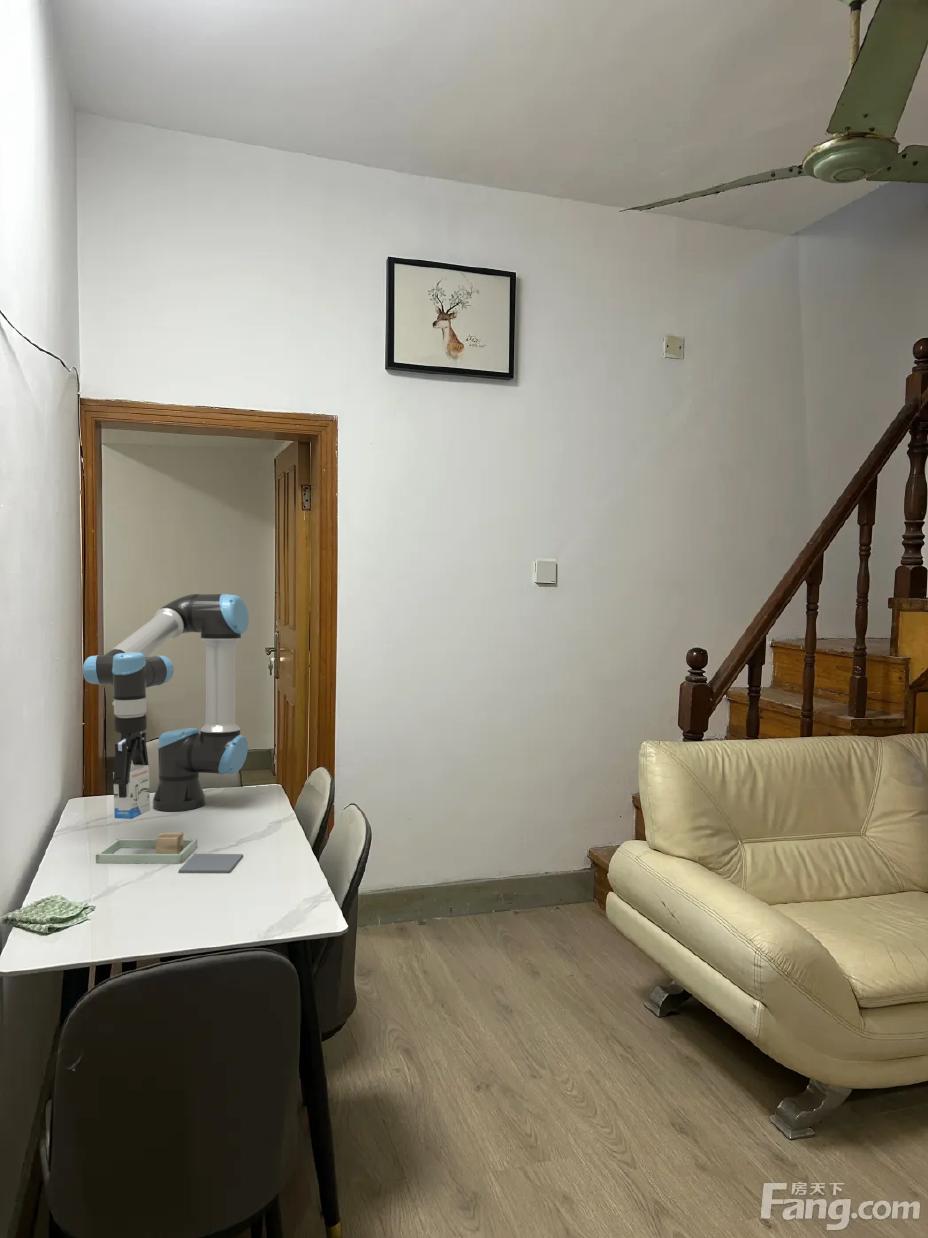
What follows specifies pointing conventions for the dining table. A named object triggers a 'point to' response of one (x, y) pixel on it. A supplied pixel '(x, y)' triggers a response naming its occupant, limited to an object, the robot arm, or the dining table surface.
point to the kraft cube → (169, 843)
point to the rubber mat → (211, 863)
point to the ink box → (135, 793)
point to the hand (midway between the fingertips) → (132, 804)
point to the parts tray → (108, 857)
